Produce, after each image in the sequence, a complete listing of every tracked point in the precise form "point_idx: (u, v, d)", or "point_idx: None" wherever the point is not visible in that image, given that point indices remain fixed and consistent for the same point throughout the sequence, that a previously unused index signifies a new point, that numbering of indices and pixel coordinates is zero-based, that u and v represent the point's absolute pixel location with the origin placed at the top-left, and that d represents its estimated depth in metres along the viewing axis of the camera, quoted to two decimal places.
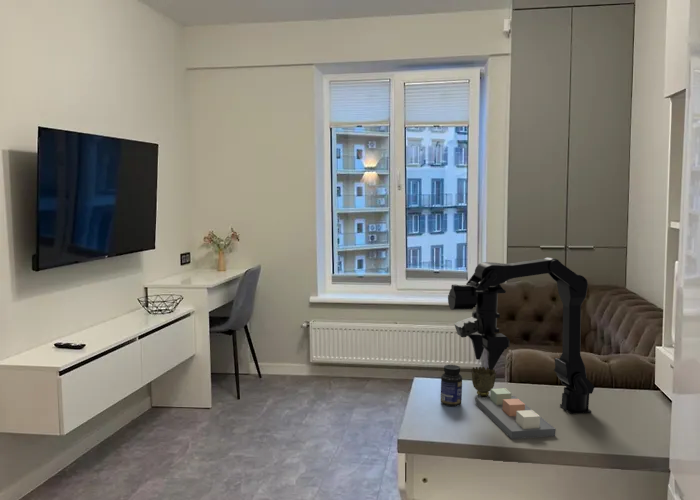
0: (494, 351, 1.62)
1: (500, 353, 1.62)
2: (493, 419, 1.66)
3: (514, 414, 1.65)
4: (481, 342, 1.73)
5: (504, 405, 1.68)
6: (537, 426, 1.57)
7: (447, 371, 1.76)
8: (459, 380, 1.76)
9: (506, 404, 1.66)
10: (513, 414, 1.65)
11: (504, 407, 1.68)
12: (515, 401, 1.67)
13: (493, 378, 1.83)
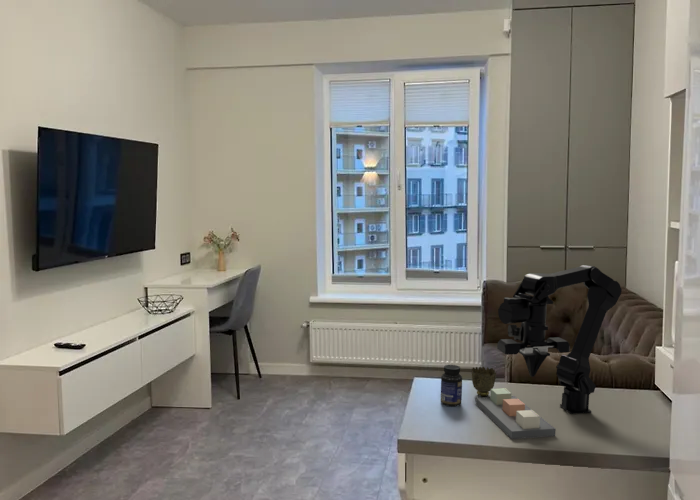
0: (528, 358, 1.66)
1: (529, 361, 1.64)
2: (493, 419, 1.66)
3: (514, 414, 1.65)
4: (536, 360, 1.66)
5: (504, 405, 1.68)
6: (537, 426, 1.57)
7: (447, 371, 1.76)
8: (459, 380, 1.76)
9: (506, 404, 1.66)
10: (513, 414, 1.65)
11: (504, 407, 1.68)
12: (515, 401, 1.67)
13: (493, 378, 1.83)
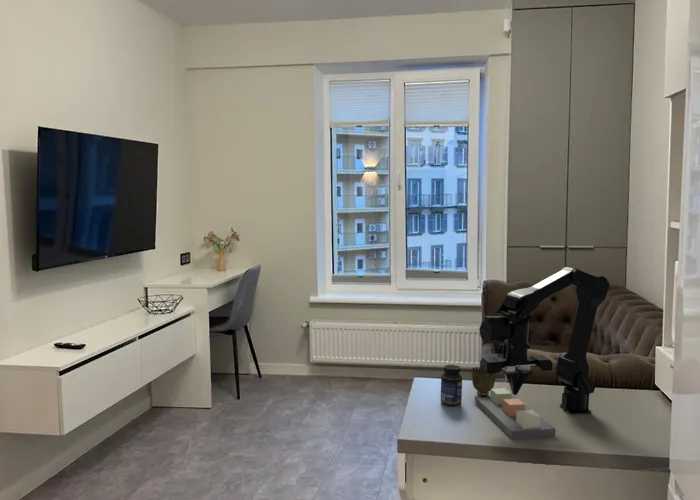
0: (511, 376, 1.66)
1: (511, 379, 1.64)
2: (493, 419, 1.66)
3: (514, 414, 1.65)
4: (518, 378, 1.65)
5: (504, 405, 1.68)
6: (537, 426, 1.57)
7: (447, 371, 1.76)
8: (459, 380, 1.76)
9: (506, 404, 1.66)
10: (513, 414, 1.65)
11: (504, 407, 1.68)
12: (515, 401, 1.67)
13: (493, 378, 1.83)
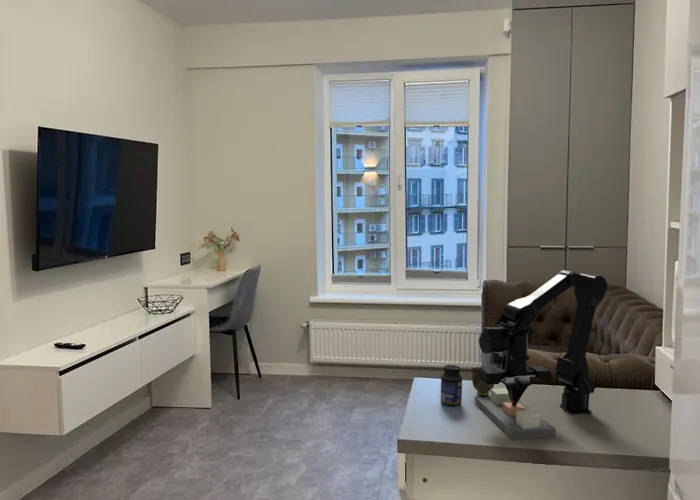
0: None
1: (511, 390, 1.64)
2: (493, 419, 1.66)
3: None
4: (517, 389, 1.66)
5: (504, 408, 1.68)
6: (537, 426, 1.57)
7: (447, 371, 1.76)
8: (459, 380, 1.76)
9: (506, 407, 1.66)
10: None
11: (504, 410, 1.68)
12: None
13: None
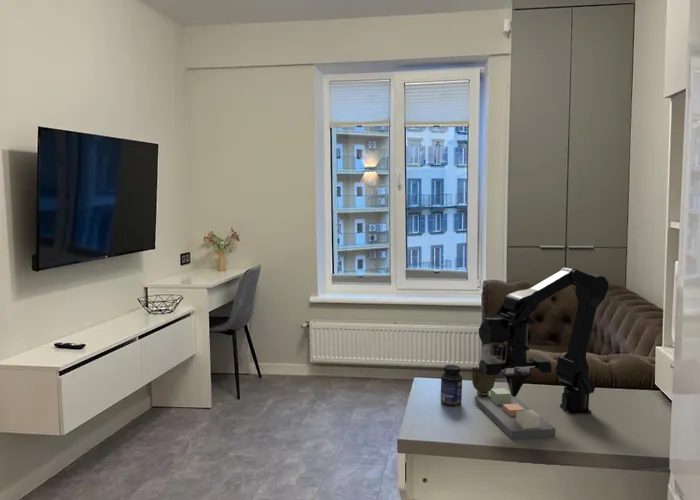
0: (510, 378, 1.66)
1: (510, 381, 1.64)
2: (493, 419, 1.66)
3: None
4: (517, 380, 1.65)
5: (504, 410, 1.68)
6: (537, 426, 1.57)
7: (447, 371, 1.76)
8: (459, 380, 1.76)
9: (506, 409, 1.66)
10: None
11: None
12: (515, 406, 1.67)
13: (493, 378, 1.83)
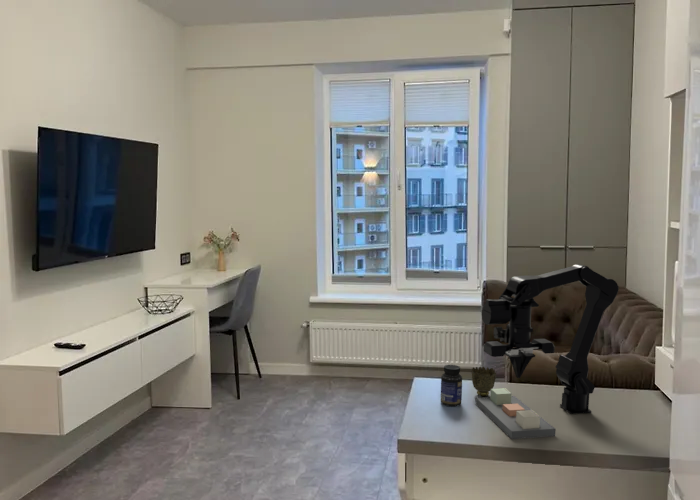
0: (514, 359, 1.69)
1: (515, 362, 1.67)
2: (493, 419, 1.66)
3: None
4: (521, 361, 1.68)
5: (504, 410, 1.68)
6: (537, 426, 1.57)
7: (447, 371, 1.76)
8: (459, 380, 1.76)
9: (506, 409, 1.66)
10: None
11: None
12: (515, 406, 1.67)
13: (493, 378, 1.83)
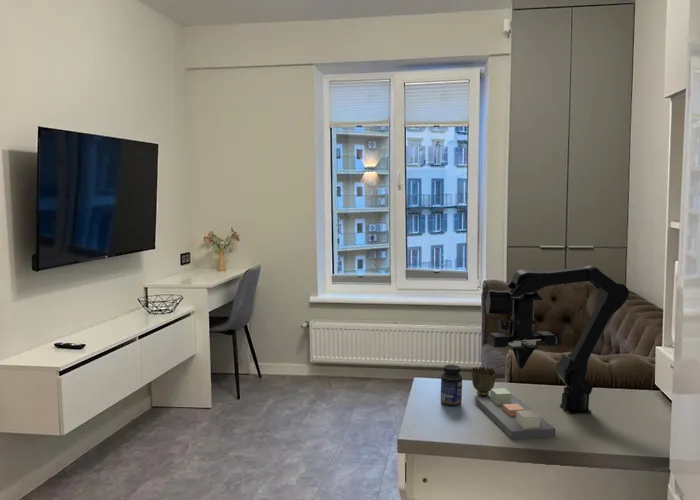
0: (517, 350, 1.73)
1: (518, 354, 1.71)
2: (493, 419, 1.66)
3: None
4: (524, 352, 1.72)
5: (504, 410, 1.68)
6: (537, 426, 1.57)
7: (447, 371, 1.76)
8: (459, 380, 1.76)
9: (506, 409, 1.66)
10: None
11: None
12: (515, 406, 1.67)
13: (493, 378, 1.83)
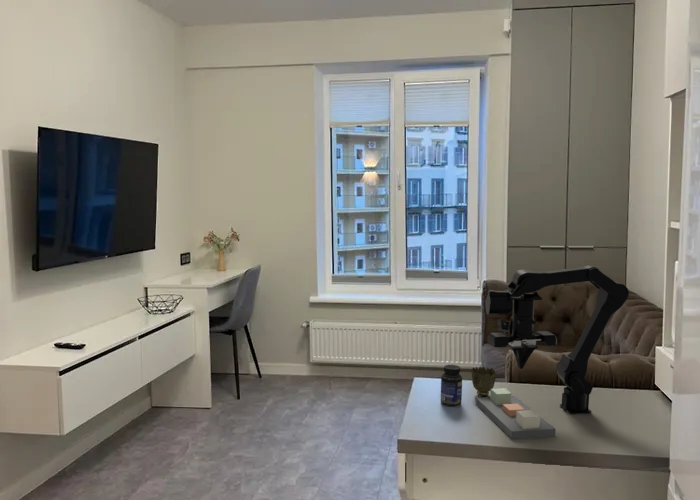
0: (517, 350, 1.73)
1: (518, 354, 1.71)
2: (493, 419, 1.66)
3: None
4: (524, 352, 1.72)
5: (504, 410, 1.68)
6: (537, 426, 1.57)
7: (447, 371, 1.76)
8: (459, 380, 1.76)
9: (506, 409, 1.66)
10: None
11: None
12: (515, 406, 1.67)
13: (493, 378, 1.83)
